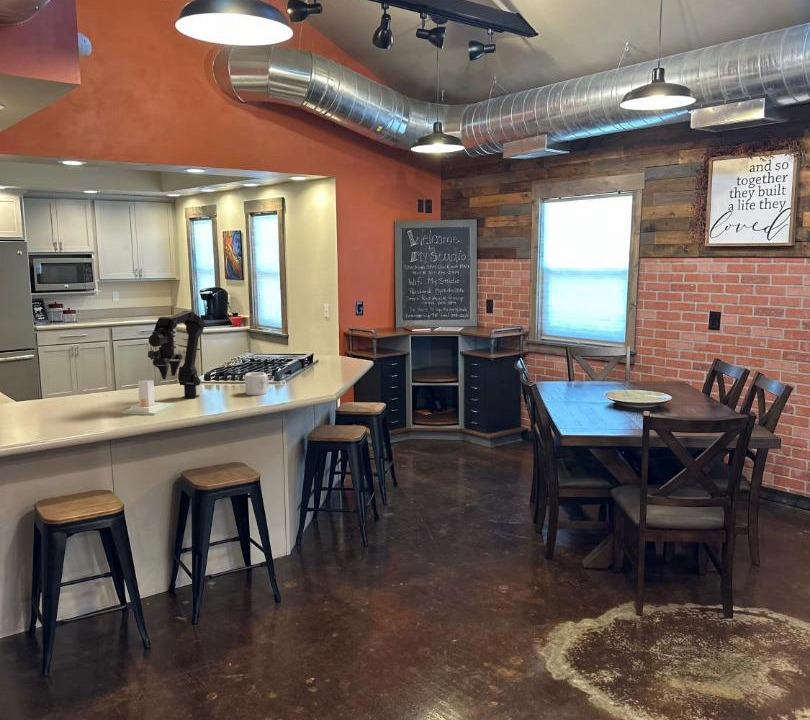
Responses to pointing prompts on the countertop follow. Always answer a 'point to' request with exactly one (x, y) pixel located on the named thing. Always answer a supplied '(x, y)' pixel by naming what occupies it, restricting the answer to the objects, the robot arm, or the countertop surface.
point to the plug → (146, 393)
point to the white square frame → (147, 408)
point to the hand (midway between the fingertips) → (168, 377)
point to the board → (165, 406)
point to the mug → (256, 383)
